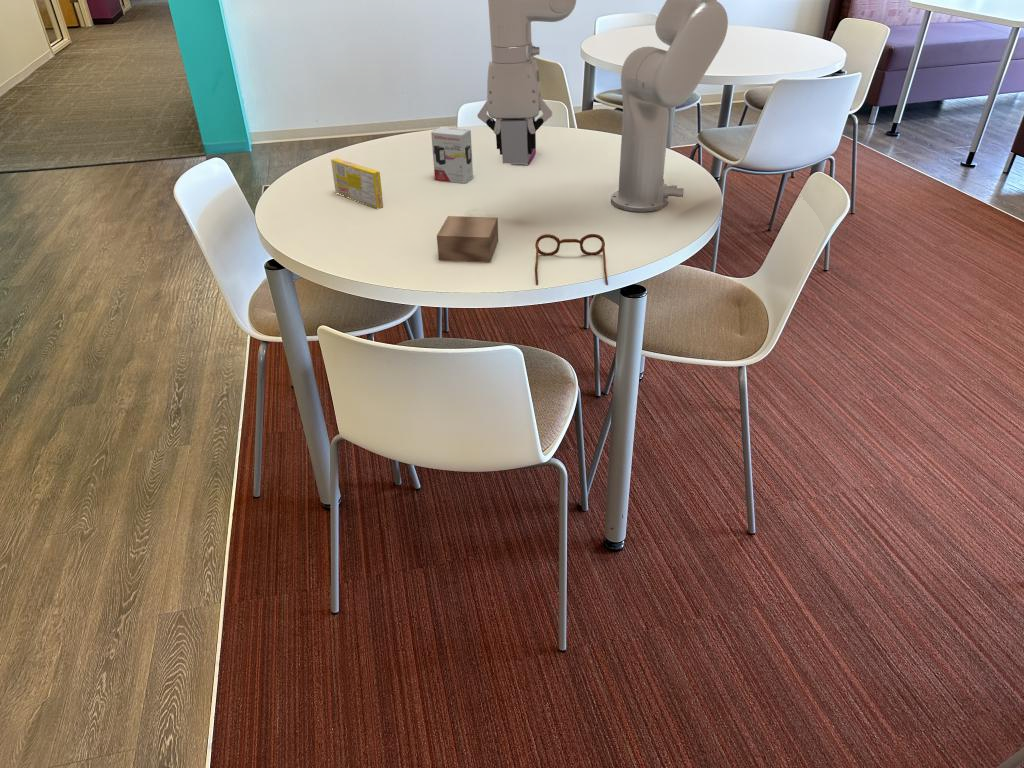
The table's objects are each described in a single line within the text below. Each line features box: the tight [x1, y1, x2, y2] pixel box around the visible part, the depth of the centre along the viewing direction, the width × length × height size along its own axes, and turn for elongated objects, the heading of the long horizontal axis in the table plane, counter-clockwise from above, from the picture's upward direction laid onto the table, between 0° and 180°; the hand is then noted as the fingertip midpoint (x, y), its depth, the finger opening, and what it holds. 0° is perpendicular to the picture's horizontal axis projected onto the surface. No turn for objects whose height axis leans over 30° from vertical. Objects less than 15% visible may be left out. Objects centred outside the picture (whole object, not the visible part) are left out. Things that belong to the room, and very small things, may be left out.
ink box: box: [430, 126, 474, 185], centre depth 173 cm, size 9×5×12 cm, turn 68°
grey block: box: [500, 119, 531, 164], centre depth 142 cm, size 5×5×8 cm
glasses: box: [534, 233, 609, 286], centre depth 131 cm, size 13×13×5 cm
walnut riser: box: [436, 215, 500, 263], centre depth 139 cm, size 10×10×5 cm
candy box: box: [330, 157, 384, 209], centre depth 164 cm, size 16×2×8 cm, turn 47°
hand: (516, 151), depth 144 cm, fingers closed on grey block, 5 cm apart
